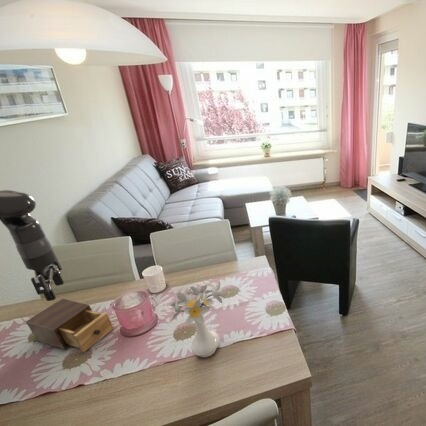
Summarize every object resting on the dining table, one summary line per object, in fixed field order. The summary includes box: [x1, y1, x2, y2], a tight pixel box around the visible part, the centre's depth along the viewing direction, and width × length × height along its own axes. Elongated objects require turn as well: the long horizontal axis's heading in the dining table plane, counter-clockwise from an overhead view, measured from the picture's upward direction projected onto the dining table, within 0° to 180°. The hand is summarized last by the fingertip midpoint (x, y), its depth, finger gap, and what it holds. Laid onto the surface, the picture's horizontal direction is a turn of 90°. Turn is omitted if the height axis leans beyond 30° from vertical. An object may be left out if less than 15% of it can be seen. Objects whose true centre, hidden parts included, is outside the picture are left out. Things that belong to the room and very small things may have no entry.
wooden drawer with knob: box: [57, 310, 114, 353], centre depth 107 cm, size 15×11×8 cm
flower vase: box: [168, 281, 226, 358], centre depth 98 cm, size 13×18×25 cm
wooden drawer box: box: [25, 298, 93, 350], centre depth 110 cm, size 15×13×10 cm
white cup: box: [141, 265, 167, 294], centre depth 132 cm, size 8×8×10 cm
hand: (56, 291), depth 99 cm, fingers open, 8 cm apart
